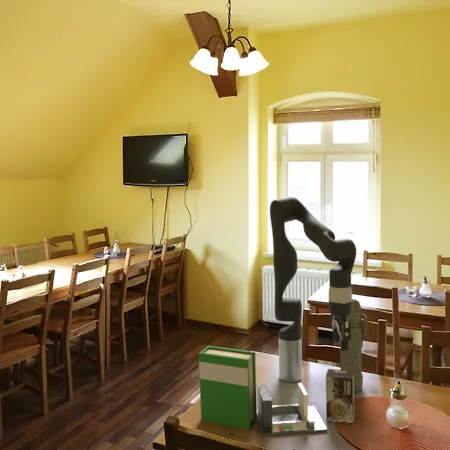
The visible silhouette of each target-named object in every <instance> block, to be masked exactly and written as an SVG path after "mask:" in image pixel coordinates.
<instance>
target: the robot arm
mask: <svg viewBox="0 0 450 450" xmlns="http://www.w3.org/2000/svg"><path fill="white" fill-rule="evenodd" d="M269 216H270V217H269V219H270V225H271V234H272V247H273V255H272V256H273V273H274V316H275V319H276V321H277V322H289V323H290V322H291V324H290V325H287V326H284V327H282V328H280V329H279V331H278V374H279V375H278V378H279V379H280V380H281V381H283V382H285V383H296V382H297V383H299V382H300V381H301V380H302V378H303V370H302V369H303V367H302V365H303V362H302V360H303V355H302V353H303V351H302V345H303V344H302V317H303V315H302V314H303V311H302V310H303V305H302V301H301V299H300V298H289V297H288V298H287V297H286V298H283V297H284V293H285V291H286V289H287V287H288V286H289V284H290V282H291V281H292V280H293V278H294V277H295V275H296V274H297V272H298V253H297V250H296V248H295V247H294V245H293V244H292V243H291V242H290V240H289V239H288V237H287V234H286V227H285V223H288V222H293V221H298V222H300V223H301V224H302V225H303V231H304V232H303V233H304V234H305V236H306V238H307V239H309V241H310V242H312V243H313V244H314V245H316V246H317V247H318V249H319V250H320V252H321V254H322V255H323V256H324V257H325V259H327V260H328V261H331V262H333V263H335V262H337V265H336V266H334V267H332V268H331V269H330V270H329V282H328V283H329V288H328V312H329V314H330V326H329V327H330V328H331V330H332V341H333V342H334V343H339V341H340V338H341V347H340V352H341V351H347V350H348V340H351V323H350V322H348V320H347V315H350V314H351V313H352V299H353V291H352V273H353V272H352V271H353V269H354V265H355V262H356V258H357V247H356V244H355V242H354V241H353V240H352V239H350V238H343V239H336V236H335V235H336V234H335V233H334V232H333V231H332V230H331V229H330V228H329V227H327V226H326V225H324V224H323V223H321V221H319V220H318V219H317V218H316V217H315V216H314V215H313V214H312V213H311V212H310V210H308V209H307V207H306V206H305V205H304V204H303V203H302V202H301V201H300V200H299V199H298V198H297V197H295V196H287V197H281V198H277V199H273V200H272V201H271V202H270V206H269ZM345 334H346V336H345Z"/></svg>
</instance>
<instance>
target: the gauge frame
mask: <svg viewBox="0 0 450 450" xmlns="http://www.w3.org/2000/svg"><path fill="white" fill-rule="evenodd" d="M256 413H257V420H258V425H259V427H260V430H261V434H262V437H273V436H274V437H276V436H290V435H302V434H303V435H305V434H317V433H318V434H319V433H328V428H327V426H326V425H325V423H324V420H323V418H322V417H321V415H320V414H319V412H318V410H317V408H316V406H315V405H308V419H309V426H307V420H302V417H301V415H300V413H299V411H298V403H295V404H293V403H292V404H277V405H276V404H275V405H273V399H272V396H271V393H270V391H269V389H268V386H267V384H266V383H265V384H264V383H263V384H257V408H256Z"/></svg>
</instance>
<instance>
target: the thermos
mask: <svg viewBox="0 0 450 450" xmlns="http://www.w3.org/2000/svg"><path fill="white" fill-rule="evenodd" d="M362 318H363V319H364V321H363V322H364V324H363V325H364V327H363V328H364V331H363V329H362ZM347 320H348V322H350V323H351V340H348V350H347V351H341V350H340V369H339V370H347V371H354V395H357V394H361V393H362V392H363V385H364V376H363V372H362V371H363V370H362V364H363V363H362V361H363V360H362V349H363V347H364V342H366V340H368V316H367V315H366V313H364V312H362V306H361V303H360V301H359V300H357V299H353V298H352V313H351V314H350V315H347ZM345 336H346V334H345ZM338 344H339V345H338V346H339V348H341V338H340V341H339V342H338Z"/></svg>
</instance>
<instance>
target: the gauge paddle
mask: <svg viewBox="0 0 450 450" xmlns="http://www.w3.org/2000/svg"><path fill="white" fill-rule="evenodd" d="M308 395H309V394H308V393H307V391H306V388H305V386H304V385H303V383H302V382H297V404H298V411H299V413H300V415H301V417H302V420H307V426H309V419H308V406H309V401H308V400H309V396H308Z"/></svg>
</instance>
